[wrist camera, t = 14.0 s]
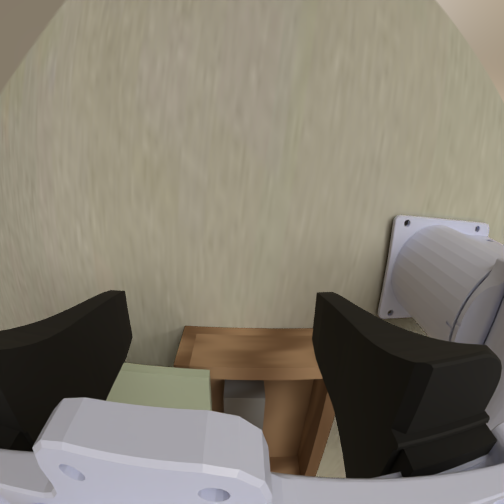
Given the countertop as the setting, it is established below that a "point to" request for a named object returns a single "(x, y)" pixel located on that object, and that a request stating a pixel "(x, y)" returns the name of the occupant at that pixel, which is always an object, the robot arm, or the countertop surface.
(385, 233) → the countertop surface
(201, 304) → the countertop surface
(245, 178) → the countertop surface
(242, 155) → the countertop surface
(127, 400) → the lid
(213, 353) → the wooden box
